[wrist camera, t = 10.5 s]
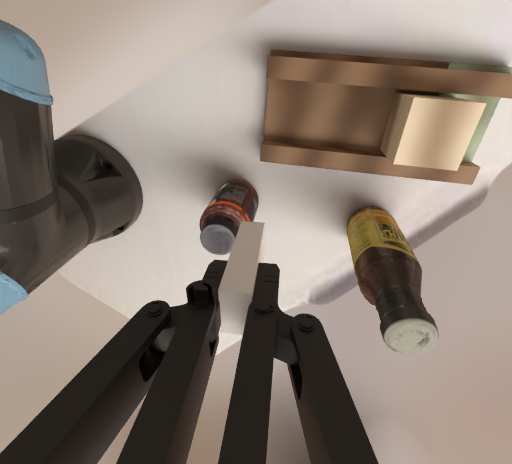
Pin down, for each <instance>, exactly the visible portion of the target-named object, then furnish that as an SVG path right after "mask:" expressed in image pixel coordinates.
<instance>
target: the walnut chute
mask: <svg viewBox="0 0 512 464" xmlns="http://www.w3.org/2000/svg"><path fill="white" fill-rule="evenodd" d="M267 78H269V80H268V92H267V105H266V117H265V130H264V141H263V142H262V144H261V157H260V161H263V162H272V163H281V164H290V165H299V166H308V167H317V168H326V169H335V170H344V171H352V172H361V173H370V174H379V175H388V176H397V177H406V178H415V179H424V180H433V181H442V182H451V183H460V184H470V185H472V184H473V182H474V180H475V178H476V176H477V173H478V171H479V169H480V167H479V166H477V165H475V164H474V163H472V159H473V157H474V155H475V153H476V151H477V148H478V146H479V144H480V142H481V140H482V137H483V135H484V133H485V131H486V129H487V127H488V124H489V122H490V120H491V118H492V116H493V113H494V111H495V109H496V107H497V105H498V102H499V100H500V98H512V67H502V66H488V65H474V64H461V63H447V62H433V61H420V60H406V59H392V58H379V57H365V56H351V55H338V54H324V53H310V52H297V51H283V50H271V54H270V56H268V65H267ZM396 92H398V93H410V94H421V95H433V96H445V97H456V98H461V99H466V100H472V101H477V102H482V103H487V104H486V106H485V108H484V111H483V113H482V115H481V118H480V120H479V122H478V124H477V127H476V129H475V131H474V134H473V136H472V138H471V140H470V143H469V145H468V147H467V150H466V152H465V154H464V156H463V159H462V161H461V163H460V166H459V168H458V170H457V171H453V170H444V169H435V168H425V167H416V166H407V165H398V164H393V163H392V162H391V161H390V160H389V159H388V158H387V157H386V156H385V155H384V153H383V152H382V151H381V150H380V146H381V143H382V139H383V136H384V132H385V129H386V125H387V122H388V118H389V115H390V111H391V108H392V104H393V101H394V97H395V94H396Z"/></svg>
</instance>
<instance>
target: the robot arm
mask: <svg viewBox="0 0 512 464" xmlns="http://www.w3.org/2000/svg"><path fill="white" fill-rule="evenodd" d="M51 105H53V97H52V96H51V95H50V91H49V84H48V78H47V71H46V63H45V59H44V55H43V53H42V51H41V49H40V48H39V46H38V45H37V44H36V43H35V41H34V40H33V39H32V38H31V37H29V36H28V35H27V34H26V33H24V32H23V31H22V30H20V29H18V28H16V27H15V26H13V25H10V24H9V23H6V22H4V21H2V20H0V315H1V314H2V313H4V312H5V311H6V310H8V309H9V308H11V307H12V306H14V305H15V304H17V303H18V302H19V301H22V300H24V299H26V298H27V297H28V294H30V293H31V292H32V291H33V290H34V289H36V288H37V287H38V286H39V285H40V284H41V283H43V282H44V281H45V280H46V279H47V278H48V277H50V276H51V275H52V274H53V273H55V272H56V271H57V270H58V269H60V268H61V267H62V266H63V265H64V264H66V263H67V262H68V261H69V260H71V259H72V258H73V257H74V256H75V255H77V254H78V253H79V252H80V251H81V250H83V249H84V248H85V247H86V246H88V245H89V244H91V243H95V242H98V241H101V240H104V239H107V238H110V237H113V236H116V235H119V234H121V233H122V232H124V231H125V230H126V229H128V228H129V227H130V226H131V225H132V224H133V223H134V222H135V221H136V220H137V218H138V217H139V215H140V213H141V209H142V204H143V196H142V190H141V186H140V183H139V180H138V178H137V176H136V174H135V172H134V171H133V169H132V167H131V166H130V165H129V163H128V162H127V161H126V160H125V159H124V158H123V157H122V156H121V155H120V154H119V153H118V152H117V151H116V150H115V149H113V148H112V147H110V146H109V145H107V144H106V143H104V142H102V141H100V140H97V139H95V138H91V137H87V136H80V135H75V136H68V137H65V138H61V139H58V140H55V141H54V137H53V125H52V113H51ZM264 226H265V223H261V222H246V221H241V224H240V227H239V230H238V233H237V236H236V239H235V242H234V245H233V248H232V251H231V253H230V256H229V259H228V261H224V260H214V261H213V262H211V263H210V264H209V265H208V268H207V270H206V272H205V275H204V277H203V279H202V280H199V281H195V282H193V283H191V284H189V285H188V287H187V288H186V292H187V299H188V303H186V304H184V305H180V306H174V307H170V306H169V305H168V303H166V302H165V301H160V300H157V301H152V302H150V303H147V304H146V305H145V306H143V307H142V308H141V309H140V310H139V311H138V312H137V313H136V314H135V315H134V316H133V317H132V319H131V320H130V321H129V322H128V323H127V324H126V325H125V326H124V327H123V328H122V329H121V330H120V331H119V332H118V333H117V334H116V335H115V336H114V337H113V338H112V339H111V340H110V341H109V342H108V343H107V344H106V345H105V346H104V348H102V349H101V350H100V351H99V353H98V354H97V355H96V356H95V357H94V358H93V359H92V360H91V361H90V362H89V363H88V364H87V365H86V366H85V367H84V368H83V369H82V370H81V371H80V372H79V373H78V374H77V375H76V376H75V377H74V378H73V379H72V380H71V382H69V383H68V384H67V386H66V387H64V388H63V390H62V391H61V392H60V393H59V394H58V395H57V396H56V397H55V398H54V399H53V400H52V401H51V402H50V403H49V404H48V405H47V406H46V407H45V408H44V409H43V410H42V411H41V412H40V413H39V414H38V415H37V416H36V417H35V418H34V419H33V421H32V422H30V424H29V425H28V426H27V427H26V428H25V429H24V430H23V431H22V432H21V433H20V434H19V435H18V436H17V437H16V438H15V439H14V440H13V441H12V442H11V443H10V444H9V445H8V446H7V447H6V448H5V449H4V450H3V451H2V452H1V453H0V464H97V463H98V461H99V460H100V459H101V457H102V456H103V454H104V453H105V452H106V450H107V449H108V447H109V446H110V444H111V443H112V442H113V440H114V439H115V437H116V436H117V435H118V433H119V432H120V430H121V429H122V427H123V426H124V425H125V423H126V422H127V420H128V419H129V418H130V416H131V415H132V413H133V412H134V410H135V409H136V408H137V406H138V405H139V403H140V402H141V400H142V399H143V398H144V396H145V395H146V393H147V392H148V393H147V395H146V398H145V400H144V402H143V404H142V407H141V409H140V411H139V413H138V416H137V418H136V420H135V422H134V425H133V427H132V429H131V431H130V434H129V436H128V438H127V441H126V443H125V445H124V447H123V449H122V452H121V454H120V456H119V458H118V461H117V463H116V464H186V462H187V458H188V454H189V450H190V447H191V443H192V439H193V435H194V431H195V428H196V424H197V421H198V417H199V413H200V409H201V405H202V402H203V398H204V395H205V391H206V387H207V383H208V380H209V376H210V372H211V368H212V365H213V361H214V357H215V354H216V350H217V346H218V342H219V336H218V333H219V330H220V326H221V333H229V334H239V335H243V337H242V342H241V348H240V353H239V358H238V363H237V368H236V373H235V379H234V384H233V389H232V395H231V399H230V405H229V410H228V416H227V420H226V425H225V431H224V436H223V441H222V446H221V451H220V457H219V462H218V464H266V455H267V441H268V427H269V414H270V400H271V386H272V373H273V359H274V358H277V359H278V360H281V361H283V362H285V363H287V365H288V370H289V374H290V378H291V383H292V387H293V391H294V395H295V399H296V403H297V408H298V411H299V416H300V420H301V424H302V429H303V433H304V437H305V441H306V445H307V450H308V454H309V458H310V462H311V464H378V461H377V459H376V457H375V454H374V451H373V449H372V446H371V444H370V442H369V439H368V437H367V434H366V432H365V429H364V427H363V424H362V422H361V419H360V417H359V415H358V412H357V410H356V407H355V405H354V403H353V400H352V397H351V395H350V392H349V390H348V388H347V385H346V383H345V380H344V378H343V375H342V373H341V371H340V368H339V366H338V363H337V361H336V358H335V356H334V353H333V351H332V348H331V346H330V343H329V341H328V338H327V336H326V334H325V331H324V329H323V326H322V324H321V322H320V321H319V319H317V318H316V317H315V316H313V315H310V314H299V315H297V316H295V317H292V316H289V315H287V314H285V313H284V312H282V311H281V310H280V308H279V306H278V288H279V274H280V270H279V268H278V266H277V264H269V263H263V257H264Z"/></svg>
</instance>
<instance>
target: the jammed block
mask: <svg viewBox="0 0 512 464" xmlns="http://www.w3.org/2000/svg"><path fill="white" fill-rule="evenodd" d="M486 104H487V103H482V102H477V101H472V100H466V99H461V98H456V97H445V96H433V95H421V94H410V93H398V92H396V94H395V97H394V101H393V104H392V108H391V111H390V115H389V118H388V122H387V125H386V129H385V132H384V136H383V139H382V143H381V146H380V150H381V151H382V152H383V153H384V155H385V156H386V157H387V158H388V159H389V160H390V161H391V162H392V163H393V164H398V165H407V166H416V167H425V168H435V169H444V170H453V171H457V170H458V168H459V166H460V163H461V161H462V159H463V156H464V154H465V152H466V150H467V147H468V145H469V143H470V140H471V138H472V136H473V134H474V131H475V129H476V127H477V124H478V122H479V120H480V118H481V115H482V113H483V111H484V108H485V106H486Z"/></svg>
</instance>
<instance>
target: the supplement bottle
mask: <svg viewBox="0 0 512 464" xmlns="http://www.w3.org/2000/svg"><path fill="white" fill-rule="evenodd" d="M258 201H259V200H258V195H257V193H256V191H255V189H254V188H253V187H252V186H251V185H250V184H248V183H246V182H244V181H240V180H232V181H229V182H227V183H225V184H224V185H223V186H222V187H221V188H220V189H219V191H218V192H217V193H216V195H215V196H214V198H213V199H212V201H211V202H210V203H209V205H208V206H207V208H206V209H205V211H204V212H203V214H202V216H201V219H200V230H201V235H200V240H201V243H202V245H203V247H204V248H205V249H206V250H208V251H209V252H211V253H213V254H216V255H225V254H228V253H230V252H231V251H232V248H233V245H234V242H235V239H236V236H237V233H238V230H239V227H240V224H241V221H246V222H253V220H254V217H255V214H256V211H257V208H258Z"/></svg>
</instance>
